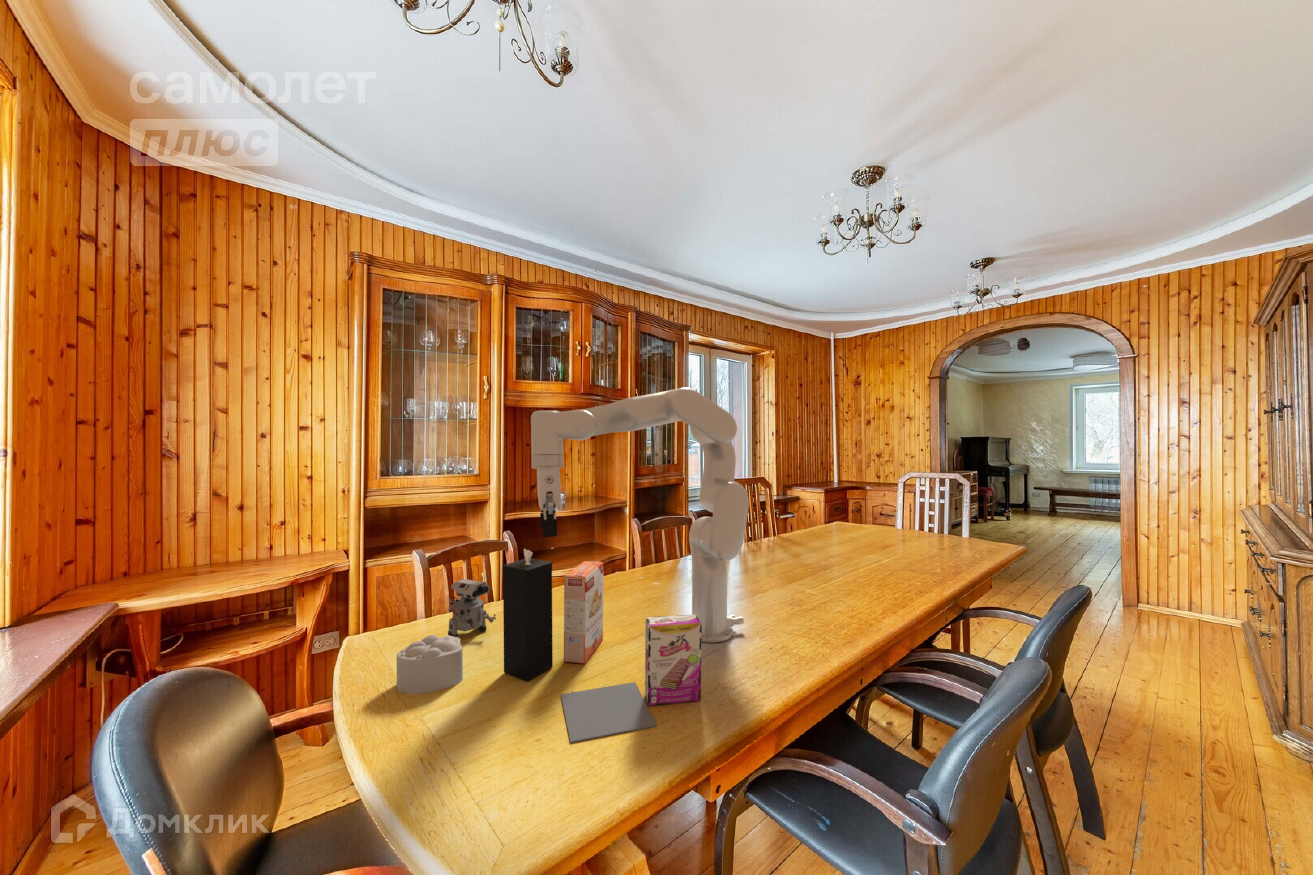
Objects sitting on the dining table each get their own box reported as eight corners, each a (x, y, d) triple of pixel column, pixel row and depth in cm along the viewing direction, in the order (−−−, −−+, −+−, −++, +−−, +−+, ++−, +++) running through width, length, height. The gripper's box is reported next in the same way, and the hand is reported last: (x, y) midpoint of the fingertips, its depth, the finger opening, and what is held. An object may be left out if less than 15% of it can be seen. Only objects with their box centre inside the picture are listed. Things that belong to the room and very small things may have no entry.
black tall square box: (527, 682, 105) (526, 555, 105) (503, 673, 109) (502, 550, 109) (553, 667, 112) (552, 548, 111) (529, 659, 116) (528, 543, 116)
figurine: (462, 648, 122) (462, 589, 122) (445, 634, 130) (445, 579, 130) (496, 637, 128) (496, 582, 128) (478, 625, 137) (478, 572, 136)
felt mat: (635, 683, 105) (635, 681, 105) (656, 726, 89) (656, 724, 89) (560, 695, 100) (560, 694, 100) (570, 743, 85) (570, 741, 85)
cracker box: (586, 665, 113) (586, 576, 113) (562, 662, 114) (562, 575, 114) (604, 639, 127) (604, 561, 126) (583, 637, 128) (582, 559, 128)
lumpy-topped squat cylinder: (464, 684, 105) (463, 644, 105) (396, 700, 99) (396, 658, 98) (459, 664, 114) (458, 627, 114) (396, 677, 108) (396, 639, 108)
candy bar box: (648, 707, 95) (647, 626, 95) (644, 694, 100) (644, 616, 100) (702, 702, 97) (702, 622, 97) (696, 689, 102) (696, 612, 102)
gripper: (567, 463, 109) (568, 538, 109) (560, 459, 125) (560, 524, 125) (533, 464, 106) (534, 541, 107) (530, 460, 123) (531, 526, 123)
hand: (548, 532), depth 116 cm, fingers open, 9 cm apart
